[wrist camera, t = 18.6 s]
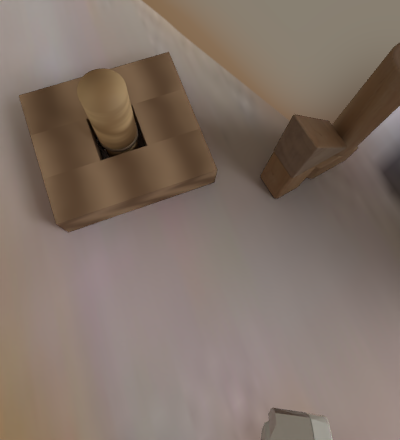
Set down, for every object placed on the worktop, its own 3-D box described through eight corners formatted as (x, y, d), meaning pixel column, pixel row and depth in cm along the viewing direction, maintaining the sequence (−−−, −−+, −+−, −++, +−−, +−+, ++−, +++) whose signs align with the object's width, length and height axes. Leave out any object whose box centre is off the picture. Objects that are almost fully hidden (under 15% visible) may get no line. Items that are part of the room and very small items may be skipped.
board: (170, 73, 47) (168, 51, 43) (214, 182, 43) (217, 169, 39) (33, 114, 44) (18, 95, 40) (68, 232, 41) (56, 224, 37)
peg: (135, 127, 44) (118, 62, 33) (146, 158, 43) (133, 103, 32) (100, 137, 44) (70, 75, 32) (110, 170, 43) (84, 118, 31)
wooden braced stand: (258, 175, 44) (307, 86, 26) (329, 137, 45) (420, 29, 28) (274, 201, 43) (336, 126, 25) (346, 160, 45) (450, 64, 27)
